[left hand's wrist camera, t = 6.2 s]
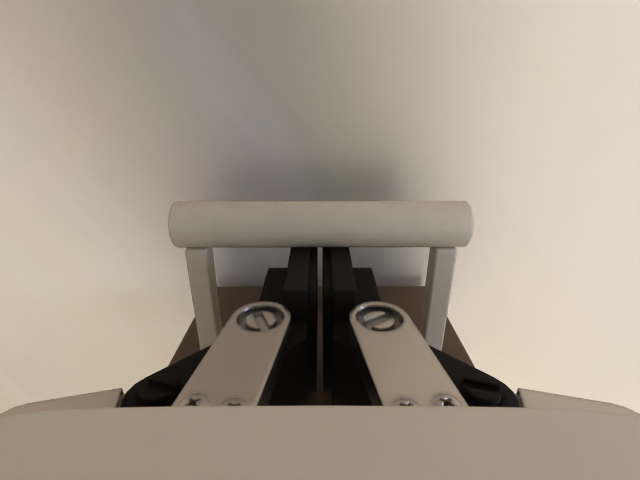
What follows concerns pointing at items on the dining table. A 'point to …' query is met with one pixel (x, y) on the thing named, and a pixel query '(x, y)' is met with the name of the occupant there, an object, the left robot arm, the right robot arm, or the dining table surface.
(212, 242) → the drawer
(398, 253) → the dining table surface
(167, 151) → the dining table surface
